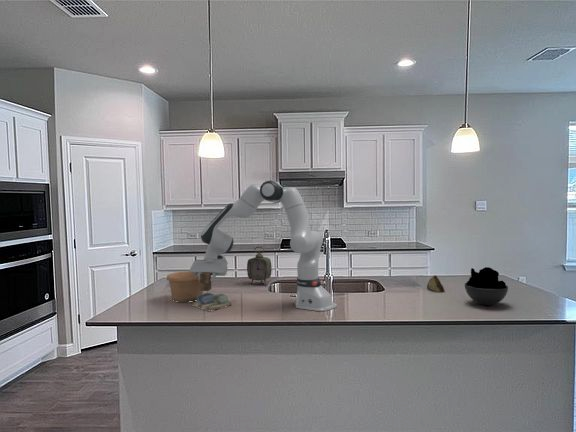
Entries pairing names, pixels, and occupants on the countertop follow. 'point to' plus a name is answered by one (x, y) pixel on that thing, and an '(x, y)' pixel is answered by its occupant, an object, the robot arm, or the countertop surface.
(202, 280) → the pillar
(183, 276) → the pottery
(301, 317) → the countertop surface
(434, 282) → the rock
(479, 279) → the bowl of black rocks
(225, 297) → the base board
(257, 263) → the tabletop clock
